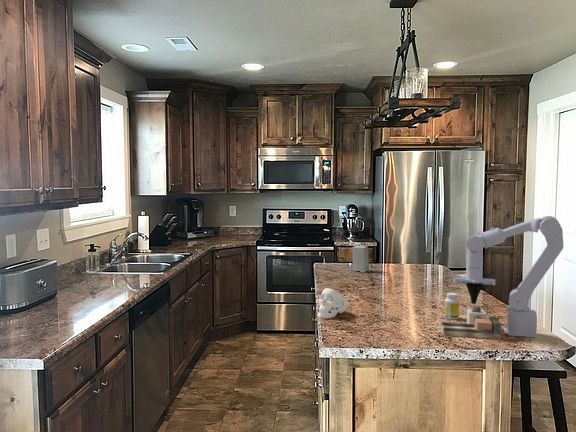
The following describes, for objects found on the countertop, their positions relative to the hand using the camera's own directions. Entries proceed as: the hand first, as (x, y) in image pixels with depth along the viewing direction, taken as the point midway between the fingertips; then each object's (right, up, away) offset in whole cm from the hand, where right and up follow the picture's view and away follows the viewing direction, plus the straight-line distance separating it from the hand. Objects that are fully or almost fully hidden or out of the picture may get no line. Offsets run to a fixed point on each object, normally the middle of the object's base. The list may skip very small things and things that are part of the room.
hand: (473, 303), depth 177 cm
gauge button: (+2, -7, +3) cm, 8 cm away
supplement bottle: (-3, -9, +14) cm, 17 cm away
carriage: (+1, -8, -8) cm, 11 cm away
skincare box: (-25, -2, +117) cm, 119 cm away
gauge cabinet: (+2, -9, +3) cm, 10 cm away
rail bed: (-4, -10, -7) cm, 12 cm away
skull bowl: (-52, -8, +19) cm, 56 cm away
